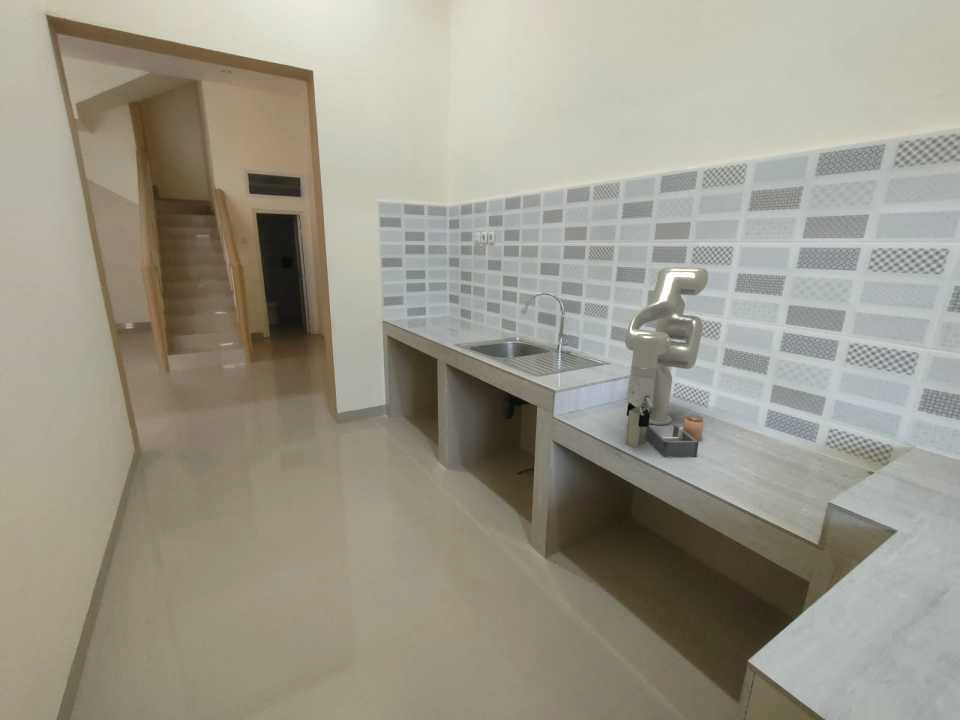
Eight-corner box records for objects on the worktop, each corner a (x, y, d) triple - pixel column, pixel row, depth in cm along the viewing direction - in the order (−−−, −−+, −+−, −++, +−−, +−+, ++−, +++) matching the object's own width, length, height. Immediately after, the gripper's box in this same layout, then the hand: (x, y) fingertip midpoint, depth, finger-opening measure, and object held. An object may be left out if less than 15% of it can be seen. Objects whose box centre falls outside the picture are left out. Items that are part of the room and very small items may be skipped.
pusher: (656, 444, 141) (658, 427, 139) (680, 444, 141) (682, 427, 140) (657, 445, 140) (659, 428, 138) (681, 445, 140) (684, 428, 139)
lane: (644, 438, 147) (646, 424, 145) (674, 437, 147) (676, 424, 146) (663, 456, 133) (665, 442, 132) (696, 456, 134) (698, 442, 132)
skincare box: (633, 438, 146) (636, 406, 143) (645, 442, 143) (649, 409, 140) (624, 443, 142) (628, 410, 139) (637, 448, 139) (641, 414, 136)
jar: (679, 434, 150) (681, 414, 148) (695, 434, 150) (698, 413, 148) (687, 441, 144) (690, 420, 142) (704, 441, 145) (707, 420, 143)
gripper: (621, 365, 144) (616, 412, 148) (643, 378, 127) (636, 430, 131) (643, 365, 145) (637, 412, 148) (666, 379, 128) (659, 431, 132)
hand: (637, 421), depth 140 cm, fingers open, 9 cm apart
